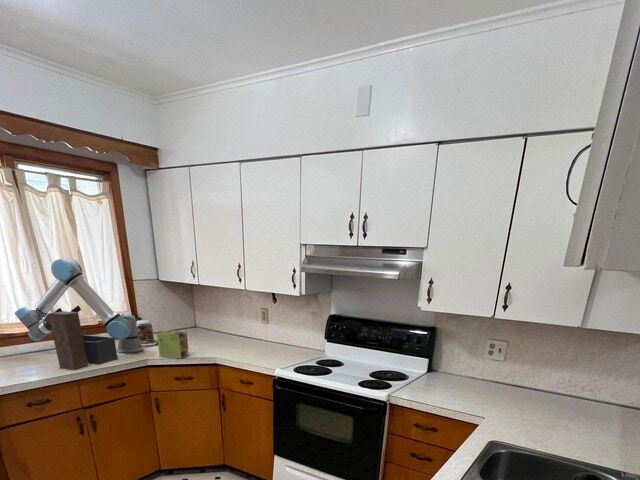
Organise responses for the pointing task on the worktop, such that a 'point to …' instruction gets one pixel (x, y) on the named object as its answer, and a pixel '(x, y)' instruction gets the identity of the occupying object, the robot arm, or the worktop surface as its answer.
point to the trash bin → (99, 349)
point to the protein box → (172, 344)
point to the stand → (68, 340)
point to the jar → (145, 331)
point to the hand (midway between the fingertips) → (70, 308)
